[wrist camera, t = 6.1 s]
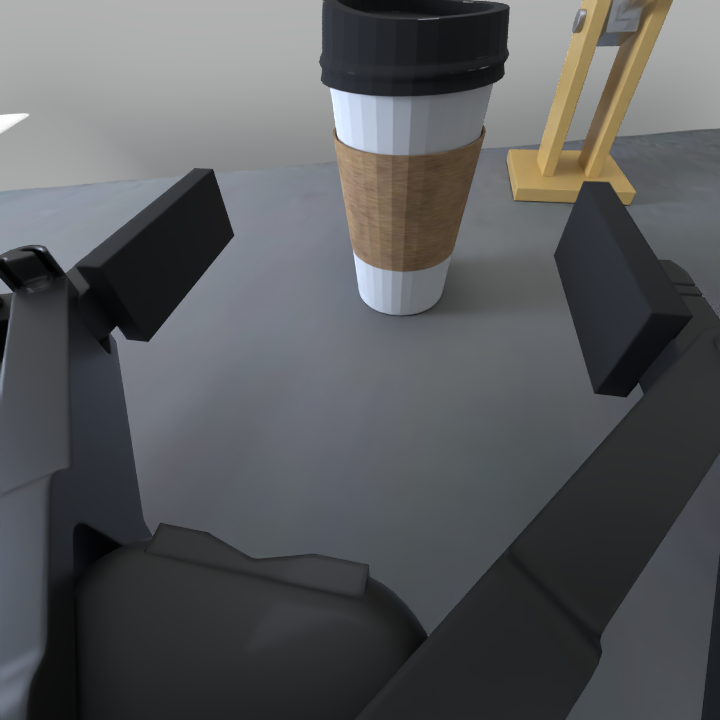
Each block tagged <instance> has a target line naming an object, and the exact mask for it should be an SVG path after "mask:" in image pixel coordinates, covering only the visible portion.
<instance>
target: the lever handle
mask: <svg viewBox="0 0 720 720" xmlns="http://www.w3.org/2000/svg"><path fill="white" fill-rule="evenodd" d="M650 1H652V0H611V3H610V6H609V9H608V12H607V15H606V18H605V21H604V24H603V27H602V30H601V33H600V36H599V39H598V42H597V45H596V46H621V45H622V44H623V43H624V42H625V41H626V40H627V39H629V38H630V37H631V36H632V35H633V34H634V33H635V32H636V31H637V29H638V25H639V21H640V18H641V14H642V10H643V8H644V7H645V6H646V5H647V4H648V3H649V2H650Z"/></svg>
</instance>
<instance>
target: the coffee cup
mask: <svg viewBox="0 0 720 720" xmlns="http://www.w3.org/2000/svg"><path fill="white" fill-rule="evenodd" d="M509 9H510V7H509V6H508V5H506V4H503V3H497V2H487V1H472V0H323V9H322V49H323V50H322V54H321V56H320V61H319V63H320V66H321V67H322V76H321V81H322V82H323V84H325V85H326V86H328V87H330V90H331V96H332V103H333V109H334V117H335V123H336V128H335V129H334V131H333V137H334V143H335V149H336V155H337V161H338V167H339V173H340V179H341V185H342V191H343V196H344V202H345V208H346V214H347V220H348V226H349V232H350V238H351V244H352V248H353V252H354V259H355V266H356V273H357V280H358V287H359V292H360V295H361V298H362V299H363V300H364V302H365V303H366V304H367V305H369V306H370V307H371V308H373V309H375V310H377V311H379V312H382V313H386V314H390V315H412V314H417V313H420V312H423V311H425V310H427V309H429V308H431V307H432V306H433V305H435V304H436V303H437V302H438V300H439V299H440V297H441V294H442V291H443V287H444V283H445V279H446V275H447V271H448V267H449V263H450V259H451V255H452V251H453V249H454V246H455V242H456V238H457V235H458V231H459V227H460V224H461V220H462V216H463V213H464V209H465V205H466V202H467V198H468V194H469V191H470V187H471V183H472V180H473V176H474V172H475V169H476V165H477V161H478V158H479V154H480V150H481V147H482V143H483V139H484V136H485V132H486V131H485V127H484V125H483V123H484V119H485V115H486V111H487V107H488V103H489V98H490V94H491V90H492V86H493V83H495V82H497V81H498V80H500V79H501V78H503V75H504V74H505V73H504V63H505V61H506V60H507V58H508V56H509V52H508V49H507V39H508V24H509Z"/></svg>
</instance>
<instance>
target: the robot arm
mask: <svg viewBox="0 0 720 720" xmlns="http://www.w3.org/2000/svg"><path fill="white" fill-rule="evenodd" d="M233 237H234V233H233V230H232V227H231V224H230V221H229V218H228V215H227V211H226V208H225V205H224V202H223V199H222V196H221V193H220V189H219V186H218V183H217V180H216V177H215V174H214V171H213V169H198V168H194V169H193V170H192V171H191V172H190V173H188V174H187V175H186V176H185V177H183V178H182V179H181V180H180V181H178V182H177V183H176V184H175V185H173V186H172V187H171V188H170V189H168V190H167V191H166V192H165V193H163V194H162V195H161V196H160V197H158V198H157V199H156V200H155V201H153V202H152V203H151V204H150V205H149V206H147V207H146V208H145V209H144V210H142V211H141V212H140V213H139V214H137V215H136V216H135V217H134V218H132V219H131V220H130V221H129V222H127V223H126V224H125V225H124V226H122V227H121V228H120V229H119V230H117V231H116V232H115V233H114V234H113V235H111V236H110V237H109V238H108V239H106V240H105V241H104V242H103V243H101V244H100V245H99V246H98V247H96V248H95V249H94V250H93V251H91V252H90V253H89V254H88V255H86V256H85V257H84V258H83V259H81V260H80V261H79V262H78V263H77V264H75V265H74V267H73V268H72V269H70V270H69V271H68V272H67V273H65V272H64V271H63V270H62V268H61V267H60V266H59V264H58V263H57V262H56V260H55V259H54V258H53V256H52V255H51V254H50V252H49V251H48V250H47V248H46V247H44V246H41V245H29V246H23V247H19V248H16V249H13V250H10V251H8V252H6V253H4V254H2V255H0V278H1V279H2V280H3V281H4V282H5V284H6V285H7V286H8V287H9V288H10V289H11V290H12V291H13V293H8V294H0V720H565V719H566V717H567V715H568V714H569V712H570V711H571V709H572V707H573V706H574V704H575V703H576V701H577V700H578V698H579V696H580V695H581V693H582V692H583V690H584V688H585V687H586V685H587V684H588V682H589V681H590V679H591V677H592V675H593V673H594V671H595V669H596V668H597V666H598V664H599V660H600V657H601V654H602V649H601V644H600V638H601V635H602V633H603V631H604V629H605V627H606V625H607V624H608V622H609V621H610V619H611V618H612V616H613V615H614V613H615V612H616V610H617V609H618V607H619V606H620V604H621V603H622V601H623V600H624V598H625V597H626V595H627V593H628V592H629V590H630V589H631V587H632V586H633V584H634V583H635V581H636V580H637V578H638V577H639V575H640V574H641V572H642V571H643V569H644V568H645V566H646V564H647V563H648V561H649V560H650V558H651V557H652V555H653V554H654V552H655V551H656V549H657V548H658V546H659V545H660V543H661V542H662V540H663V539H664V537H665V536H666V534H667V532H668V531H669V529H670V528H671V526H672V525H673V523H674V522H675V520H676V519H677V517H678V516H679V514H680V513H681V511H682V510H683V508H684V507H685V505H686V503H687V502H688V500H689V499H690V497H691V496H692V494H693V493H694V491H695V490H696V488H697V487H698V485H699V484H700V482H701V481H702V479H703V478H704V476H705V475H706V473H707V471H708V470H709V468H710V467H711V465H712V464H713V462H714V461H715V459H716V458H717V456H718V455H719V453H720V319H719V318H718V316H717V315H716V314H715V312H714V311H713V309H712V308H711V306H710V305H709V303H708V302H707V301H706V299H705V298H704V297H702V293H701V292H700V290H699V289H698V288H697V287H695V283H694V282H693V280H692V279H691V277H690V276H689V275H688V273H687V272H686V271H685V270H683V269H682V268H681V267H679V266H678V265H676V264H675V263H674V262H672V261H671V260H658V259H657V257H656V256H655V254H654V253H653V251H652V249H651V248H650V246H649V245H648V243H647V241H646V240H645V238H644V237H643V235H642V233H641V232H640V230H639V229H638V227H637V225H636V224H635V222H634V221H633V219H632V217H631V216H630V214H629V213H628V211H627V209H626V208H625V206H624V205H623V203H622V201H621V200H620V198H619V197H618V195H617V193H616V192H615V190H614V189H613V187H612V186H611V184H610V182H601V181H583V184H582V186H581V189H580V191H579V194H578V196H577V199H576V201H575V204H574V206H573V209H572V211H571V214H570V216H569V219H568V222H567V224H566V227H565V229H564V232H563V234H562V237H561V239H560V242H559V244H558V247H557V249H556V252H555V254H554V257H555V261H556V264H557V268H558V271H559V275H560V278H561V281H562V285H563V288H564V292H565V295H566V298H567V302H568V305H569V309H570V312H571V315H572V319H573V322H574V326H575V329H576V332H577V336H578V339H579V343H580V346H581V349H582V353H583V356H584V360H585V363H586V367H587V370H588V373H589V377H590V380H591V384H592V387H593V390H594V394H602V395H611V396H619V397H627V396H628V395H629V394H630V392H631V391H632V390H633V389H634V388H635V386H636V385H637V384H638V383H639V384H640V386H641V388H642V391H643V393H644V396H643V397H642V398H641V399H640V400H639V401H638V403H637V404H636V405H635V406H634V407H633V408H632V409H631V410H630V411H629V413H628V414H627V415H626V416H625V417H624V418H623V419H622V420H621V422H620V423H619V424H618V425H617V426H616V427H615V428H614V429H613V431H612V432H611V433H610V434H609V435H608V436H607V437H606V438H605V440H604V441H603V442H602V443H601V444H600V445H599V446H598V447H597V449H596V450H595V451H594V452H593V453H592V454H591V455H590V456H589V457H588V459H587V460H586V461H585V462H584V463H583V464H582V465H581V466H580V468H579V469H578V470H577V471H576V472H575V473H574V474H573V475H572V477H571V478H570V479H569V480H568V481H567V482H566V483H565V484H564V486H563V487H562V488H561V489H560V490H559V491H558V492H557V493H556V495H555V496H554V497H553V498H552V499H551V500H550V501H549V502H548V503H547V505H546V506H545V507H544V508H543V509H542V510H541V511H540V512H539V514H538V515H537V516H536V517H535V518H534V519H533V520H532V521H531V523H530V524H529V525H528V526H527V527H526V528H525V529H524V530H523V532H522V533H521V534H520V535H519V536H518V537H517V538H516V539H515V540H514V542H513V543H512V544H511V545H510V546H509V547H508V548H507V549H506V550H505V552H504V553H503V554H502V555H501V556H500V557H499V558H498V559H497V560H496V562H495V563H494V564H493V565H492V566H491V567H490V568H489V569H488V570H487V572H486V573H485V574H484V575H483V576H482V577H481V578H480V579H479V581H478V582H477V583H476V584H475V585H474V586H473V587H472V588H471V590H470V591H469V592H468V593H467V594H466V595H465V596H464V597H463V599H462V600H461V601H460V602H459V603H458V604H457V605H456V606H455V607H454V609H453V610H452V611H451V612H450V613H449V614H448V615H447V616H446V618H445V619H444V620H443V621H442V622H441V623H440V624H439V625H438V627H437V628H436V629H435V630H434V631H433V632H432V633H431V634H430V636H429V637H428V636H427V634H426V632H425V630H424V628H423V627H422V625H421V624H420V622H419V621H418V619H417V618H416V616H415V615H414V614H413V612H412V611H411V610H410V609H409V607H408V606H407V605H406V604H405V603H404V602H403V601H402V600H401V599H400V598H399V597H398V596H397V595H396V594H395V593H394V592H393V591H391V590H390V589H389V588H387V587H386V586H385V585H383V584H382V583H380V582H379V581H377V580H375V579H373V578H372V577H370V573H369V565H367V564H362V563H357V562H352V561H347V560H342V559H337V558H332V557H327V556H322V555H317V554H307V555H296V556H285V557H274V558H263V559H254V558H251V557H249V556H247V555H246V554H244V553H242V552H240V551H239V550H237V549H235V548H234V547H232V546H230V545H228V544H227V543H225V542H223V541H222V540H220V539H218V538H216V537H215V536H213V535H211V534H210V533H208V532H203V531H198V530H193V529H188V528H183V527H178V526H173V525H168V524H163V523H160V524H159V526H158V528H157V530H156V532H155V534H154V536H152V534H151V532H150V531H149V529H148V527H147V526H146V524H145V521H144V518H143V513H142V507H141V500H140V494H139V487H138V481H137V474H136V468H135V461H134V455H133V448H132V442H131V435H130V429H129V422H128V416H127V409H126V403H125V396H124V390H123V383H122V377H121V370H120V364H119V357H118V351H117V344H116V341H115V339H114V338H113V336H112V335H111V334H110V332H111V331H112V330H113V329H114V328H115V327H116V326H118V327H119V329H120V330H121V332H122V333H123V334H124V336H125V337H126V339H127V340H136V341H145V342H149V340H150V339H151V338H152V337H153V336H154V334H155V333H156V332H157V331H158V329H159V328H160V327H161V326H162V324H163V323H164V322H165V321H166V319H167V318H168V317H169V316H170V315H171V313H172V312H173V311H174V310H175V308H176V307H177V306H178V305H179V303H180V302H181V301H182V300H183V298H184V297H185V296H186V295H187V293H188V292H189V291H190V290H191V289H192V287H193V286H194V285H195V284H196V282H197V281H198V280H199V279H200V277H201V276H202V275H203V274H204V272H205V271H206V270H207V269H208V268H209V266H210V265H211V264H212V263H213V261H214V260H215V259H216V258H217V256H218V255H219V254H220V253H221V251H222V250H223V249H224V248H225V247H226V245H227V244H228V243H229V242H230V240H231V239H232V238H233ZM701 720H720V557H719V566H718V575H717V584H716V592H715V601H714V610H713V619H712V628H711V637H710V646H709V655H708V664H707V673H706V682H705V691H704V700H703V709H702V718H701Z"/></svg>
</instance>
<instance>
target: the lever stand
mask: <svg viewBox="0 0 720 720" xmlns="http://www.w3.org/2000/svg"><path fill="white" fill-rule="evenodd" d="M672 1H673V0H652V1H650V2H649V3H648V4H647V5H646V6H645V7H644V8H643V10H642V14H641V18H640V21H639V25H638V29H637V31H636V32H635V33H634V34H633V35H632V36H631V37H630V38H629V39H627V40H626V41H625V42H624V43H623V44H622V45H621V46H620V47H619V50H618V53H617V56H616V58H615V61H614V64H613V66H612V69H611V72H610V74H609V77H608V80H607V83H606V85H605V88H604V91H603V93H602V96H601V99H600V102H599V104H598V107H597V110H596V112H595V115H594V118H593V121H592V123H591V126H590V129H589V131H588V134H587V137H586V140H585V142H584V145H583V148H582V150H581V151H562V148H563V145H564V142H565V139H566V136H567V133H568V130H569V127H570V124H571V120H572V118H573V114H574V112H575V109H576V105H577V103H578V100H579V97H580V93H581V91H582V88H583V84H584V81H585V78H586V75H587V72H588V69H589V66H590V63H591V60H592V57H593V54H594V51H595V48H596V45H597V42H598V39H599V36H600V33H601V30H602V27H603V24H604V21H605V18H606V15H607V12H608V9H609V6H610V3H611V0H583V1H582V4H581V7H580V9H579V11H578V12H577V14H576V17H575V21H574V25H573V35H572V38H571V42H570V45H569V49H568V52H567V56H566V59H565V63H564V66H563V70H562V73H561V76H560V80H559V84H558V87H557V90H556V94H555V97H554V101H553V104H552V108H551V111H550V115H549V118H548V121H547V125H546V128H545V131H544V135H543V139H542V142H541V145H540V149H539V150H509V152H508V156H507V165H508V170H509V176H510V181H511V186H512V191H513V196H514V200H519V201H543V202H568V203H575V201H576V199H577V196H578V194H579V191H580V189H581V186H582V184H583V181H601V182H610V184H611V186H612V187H613V189H614V190H615V192H616V193H617V195H618V197H619V198H620V200H621V201H622V203H623V205H630V204H631V202H632V200H633V198H634V196H635V194H636V191H635V190H634V188H633V187H632V185H631V184H630V183H629V181H628V180H627V178H626V177H625V175H624V174H623V173H622V171H621V170H620V168H619V167H618V165H617V164H616V163H615V161H614V160H613V158H612V157H611V155H610V154H609V151H610V149H611V146H612V144H613V142H614V139H615V137H616V135H617V132H618V130H619V127H620V125H621V123H622V120H623V118H624V116H625V113H626V111H627V108H628V106H629V104H630V101H631V99H632V96H633V94H634V91H635V89H636V87H637V84H638V82H639V80H640V78H641V75H642V73H643V70H644V68H645V66H646V63H647V61H648V59H649V56H650V54H651V51H652V49H653V47H654V44H655V41H656V39H657V37H658V35H659V32H660V30H661V28H662V25H663V23H664V20H665V18H666V15H667V13H668V11H669V9H670V6H671V4H672Z"/></svg>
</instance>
